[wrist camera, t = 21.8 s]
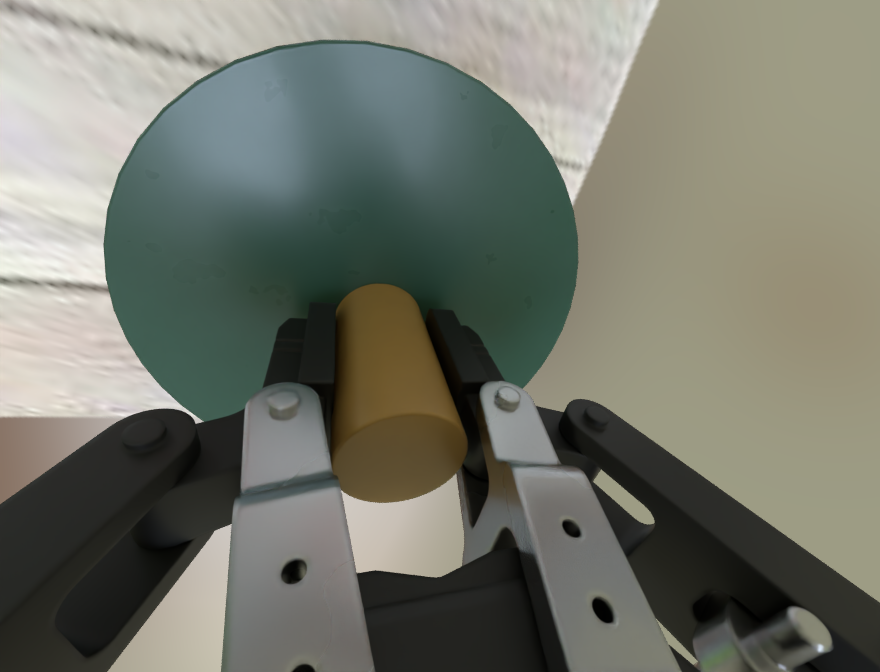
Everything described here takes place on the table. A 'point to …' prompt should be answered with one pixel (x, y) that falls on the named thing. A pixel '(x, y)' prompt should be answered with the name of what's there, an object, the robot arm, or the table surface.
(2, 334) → the table surface
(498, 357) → the lid
